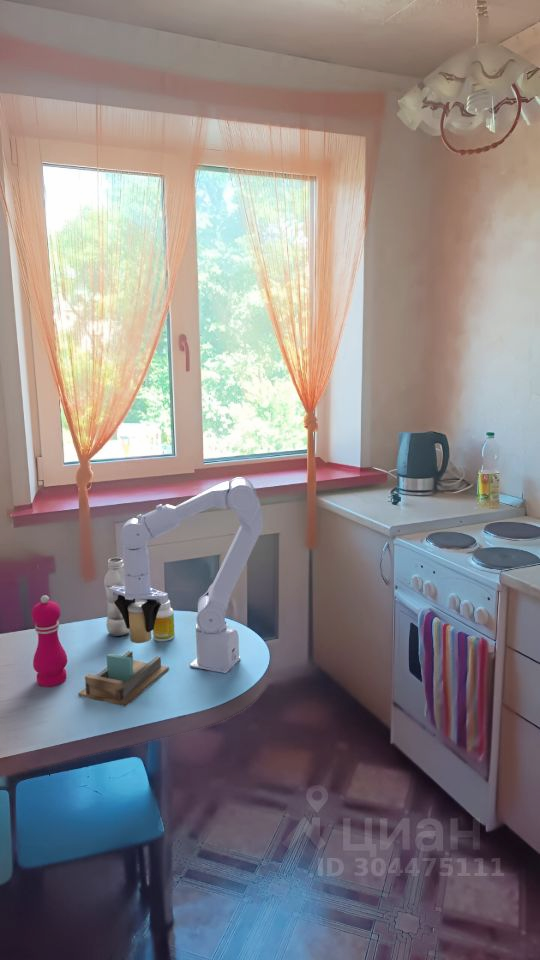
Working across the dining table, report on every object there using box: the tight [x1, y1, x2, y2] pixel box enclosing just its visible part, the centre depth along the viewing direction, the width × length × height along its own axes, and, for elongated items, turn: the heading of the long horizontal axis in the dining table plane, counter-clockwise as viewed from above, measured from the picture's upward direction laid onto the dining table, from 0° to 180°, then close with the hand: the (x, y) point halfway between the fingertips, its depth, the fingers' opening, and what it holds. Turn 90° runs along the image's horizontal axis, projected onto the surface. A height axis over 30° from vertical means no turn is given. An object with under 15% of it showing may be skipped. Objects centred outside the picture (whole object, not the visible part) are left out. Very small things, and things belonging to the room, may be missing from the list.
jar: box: [128, 601, 152, 644], centre depth 148 cm, size 5×5×8 cm
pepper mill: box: [31, 594, 68, 688], centre depth 143 cm, size 7×7×20 cm
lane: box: [77, 650, 170, 707], centre depth 143 cm, size 12×17×4 cm
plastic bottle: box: [103, 557, 130, 637], centre depth 167 cm, size 6×7×20 cm
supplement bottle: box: [152, 599, 176, 642], centre depth 165 cm, size 5×5×10 cm
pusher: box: [106, 653, 134, 683], centre depth 141 cm, size 6×1×6 cm, turn 68°
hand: (140, 628), depth 149 cm, fingers closed on jar, 5 cm apart
